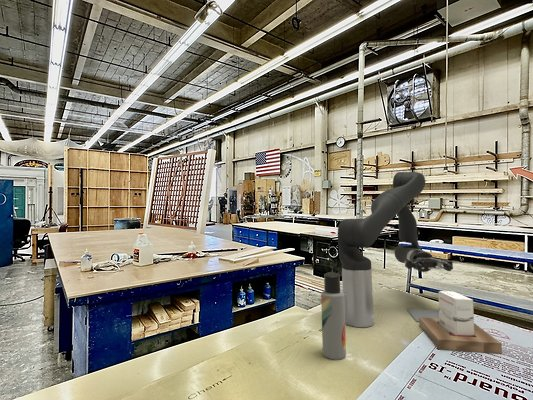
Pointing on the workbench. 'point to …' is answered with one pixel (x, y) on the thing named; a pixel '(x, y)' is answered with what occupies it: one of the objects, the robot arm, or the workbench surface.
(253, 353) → the workbench surface
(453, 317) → the ink box
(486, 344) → the wooden square frame
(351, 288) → the robot arm
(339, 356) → the lotion bottle
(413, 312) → the grey mat
